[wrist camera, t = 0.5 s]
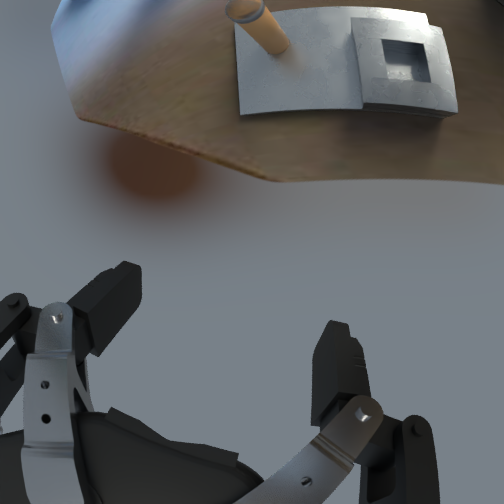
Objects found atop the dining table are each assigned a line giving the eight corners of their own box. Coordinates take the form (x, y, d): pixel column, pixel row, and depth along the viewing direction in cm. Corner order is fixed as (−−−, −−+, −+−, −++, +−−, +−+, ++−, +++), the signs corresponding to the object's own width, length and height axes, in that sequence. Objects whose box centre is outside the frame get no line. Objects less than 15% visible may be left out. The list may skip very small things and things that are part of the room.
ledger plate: (238, 23, 25) (221, 8, 21) (423, 17, 17) (431, 0, 12) (244, 116, 30) (226, 110, 26) (443, 118, 22) (458, 113, 17)
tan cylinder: (260, 34, 24) (224, -3, 15) (288, 30, 23) (260, -11, 14) (262, 56, 25) (225, 24, 17) (291, 53, 24) (263, 15, 15)
